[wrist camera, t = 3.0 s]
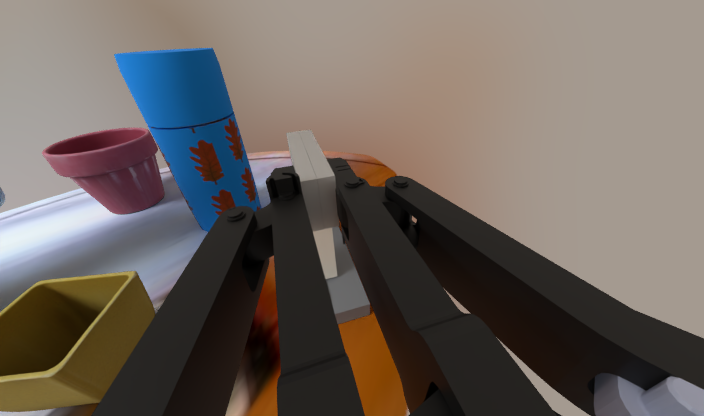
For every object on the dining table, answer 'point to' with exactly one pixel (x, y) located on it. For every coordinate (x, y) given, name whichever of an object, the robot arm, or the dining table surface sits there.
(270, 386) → the dining table surface
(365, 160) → the dining table surface
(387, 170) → the dining table surface
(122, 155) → the plant pot
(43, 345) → the flower pot
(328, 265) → the fader tab
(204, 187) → the thermos
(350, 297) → the console
